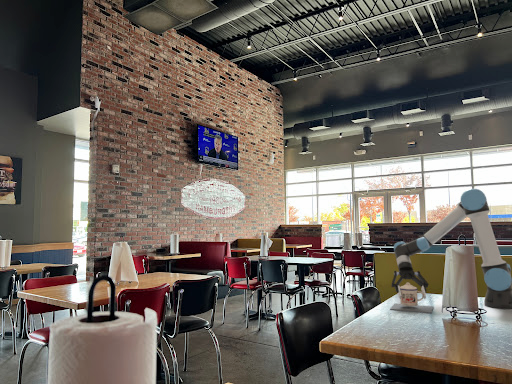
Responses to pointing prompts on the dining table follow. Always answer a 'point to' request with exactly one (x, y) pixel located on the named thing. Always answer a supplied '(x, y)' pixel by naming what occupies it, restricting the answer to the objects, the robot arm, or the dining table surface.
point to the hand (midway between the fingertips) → (412, 297)
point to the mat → (412, 308)
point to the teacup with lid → (409, 295)
